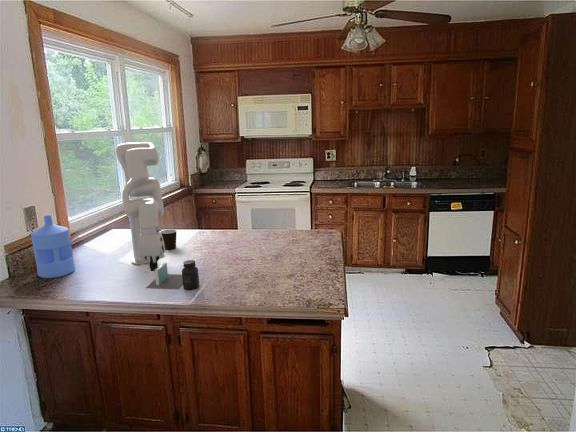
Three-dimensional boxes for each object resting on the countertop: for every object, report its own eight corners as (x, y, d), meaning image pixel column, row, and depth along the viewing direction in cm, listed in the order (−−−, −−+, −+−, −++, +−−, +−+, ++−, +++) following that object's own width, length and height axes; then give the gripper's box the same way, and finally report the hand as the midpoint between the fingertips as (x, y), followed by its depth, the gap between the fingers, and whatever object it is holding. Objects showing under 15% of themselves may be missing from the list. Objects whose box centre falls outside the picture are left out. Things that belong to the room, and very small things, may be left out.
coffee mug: (174, 251, 218) (172, 233, 216) (159, 250, 220) (157, 233, 217) (182, 244, 230) (181, 228, 227) (168, 244, 231) (167, 227, 229)
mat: (161, 275, 185) (161, 273, 184) (192, 276, 183) (192, 274, 183) (145, 289, 169) (145, 288, 169) (178, 290, 167) (178, 289, 167)
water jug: (35, 272, 191) (25, 216, 185) (71, 264, 201) (62, 210, 194) (41, 281, 180) (30, 222, 173) (78, 272, 189) (70, 216, 183)
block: (164, 277, 181) (163, 262, 179) (168, 277, 180) (166, 262, 179) (156, 285, 172) (154, 270, 170) (159, 285, 172) (158, 270, 170)
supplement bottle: (202, 287, 170) (200, 261, 167) (189, 293, 165) (187, 265, 162) (193, 283, 174) (191, 257, 171) (180, 288, 169) (177, 262, 166)
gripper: (169, 228, 174) (173, 267, 178) (138, 227, 176) (142, 266, 180) (162, 233, 166) (166, 274, 171) (129, 232, 168) (134, 272, 173)
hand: (154, 270), depth 175 cm, fingers closed
